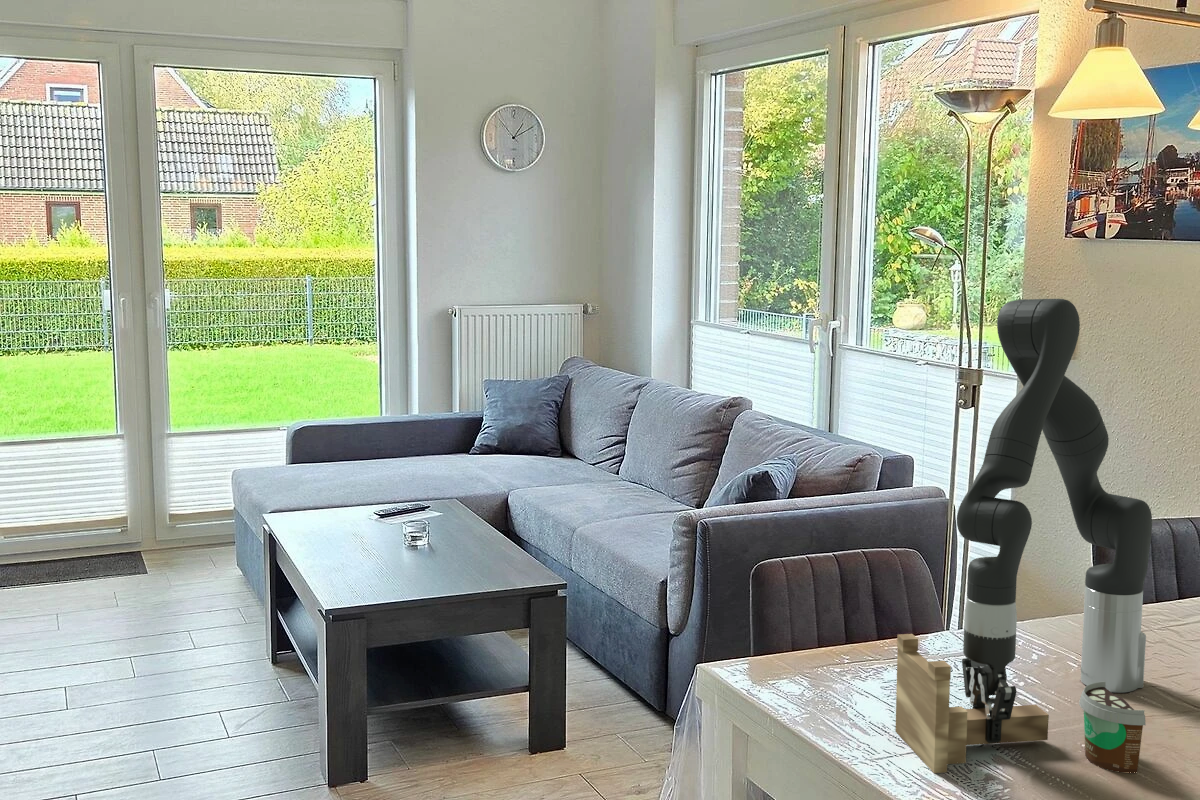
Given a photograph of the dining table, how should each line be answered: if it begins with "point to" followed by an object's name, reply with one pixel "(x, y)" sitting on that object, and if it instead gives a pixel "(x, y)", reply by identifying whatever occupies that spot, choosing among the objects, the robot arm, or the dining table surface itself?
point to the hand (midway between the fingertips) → (986, 735)
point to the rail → (1009, 725)
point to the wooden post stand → (928, 708)
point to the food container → (1111, 729)
